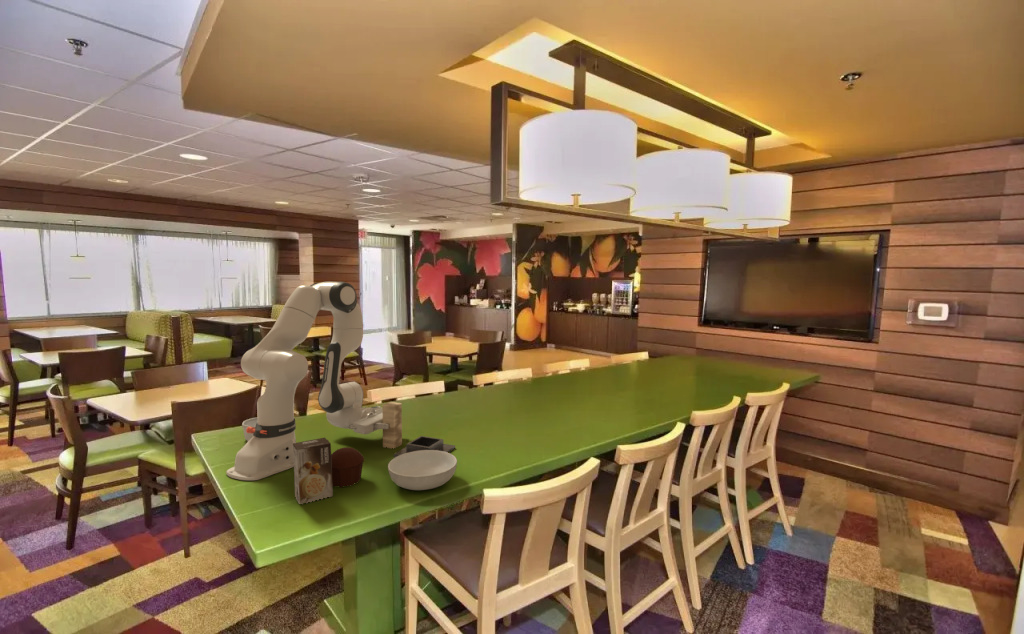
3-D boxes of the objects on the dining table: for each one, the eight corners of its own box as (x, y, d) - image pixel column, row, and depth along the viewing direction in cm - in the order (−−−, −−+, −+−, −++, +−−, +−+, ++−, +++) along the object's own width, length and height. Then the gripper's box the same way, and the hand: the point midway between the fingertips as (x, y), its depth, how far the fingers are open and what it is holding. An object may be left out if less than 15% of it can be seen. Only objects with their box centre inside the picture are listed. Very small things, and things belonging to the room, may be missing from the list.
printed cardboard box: (327, 488, 138) (326, 436, 137) (333, 497, 133) (332, 442, 132) (294, 496, 133) (292, 442, 131) (298, 505, 127) (297, 449, 126)
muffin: (365, 486, 140) (365, 454, 139) (326, 491, 136) (325, 459, 135) (363, 471, 151) (362, 441, 150) (326, 475, 147) (326, 445, 146)
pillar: (394, 448, 171) (393, 406, 170) (382, 446, 173) (382, 405, 171) (401, 444, 176) (401, 403, 174) (391, 442, 177) (390, 401, 176)
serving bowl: (427, 464, 157) (426, 444, 157) (470, 481, 144) (470, 460, 143) (374, 484, 141) (373, 463, 141) (418, 506, 128) (417, 482, 127)
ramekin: (287, 436, 183) (287, 419, 183) (255, 446, 172) (254, 428, 171) (268, 430, 190) (267, 414, 189) (235, 439, 179) (234, 422, 178)
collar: (432, 463, 157) (432, 452, 157) (393, 456, 163) (393, 445, 163) (455, 448, 172) (455, 437, 172) (418, 442, 178) (418, 432, 178)
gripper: (345, 419, 168) (376, 423, 163) (380, 405, 187) (409, 408, 182) (345, 435, 169) (376, 440, 164) (380, 420, 188) (409, 424, 183)
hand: (394, 423), depth 173 cm, fingers closed on pillar, 5 cm apart
